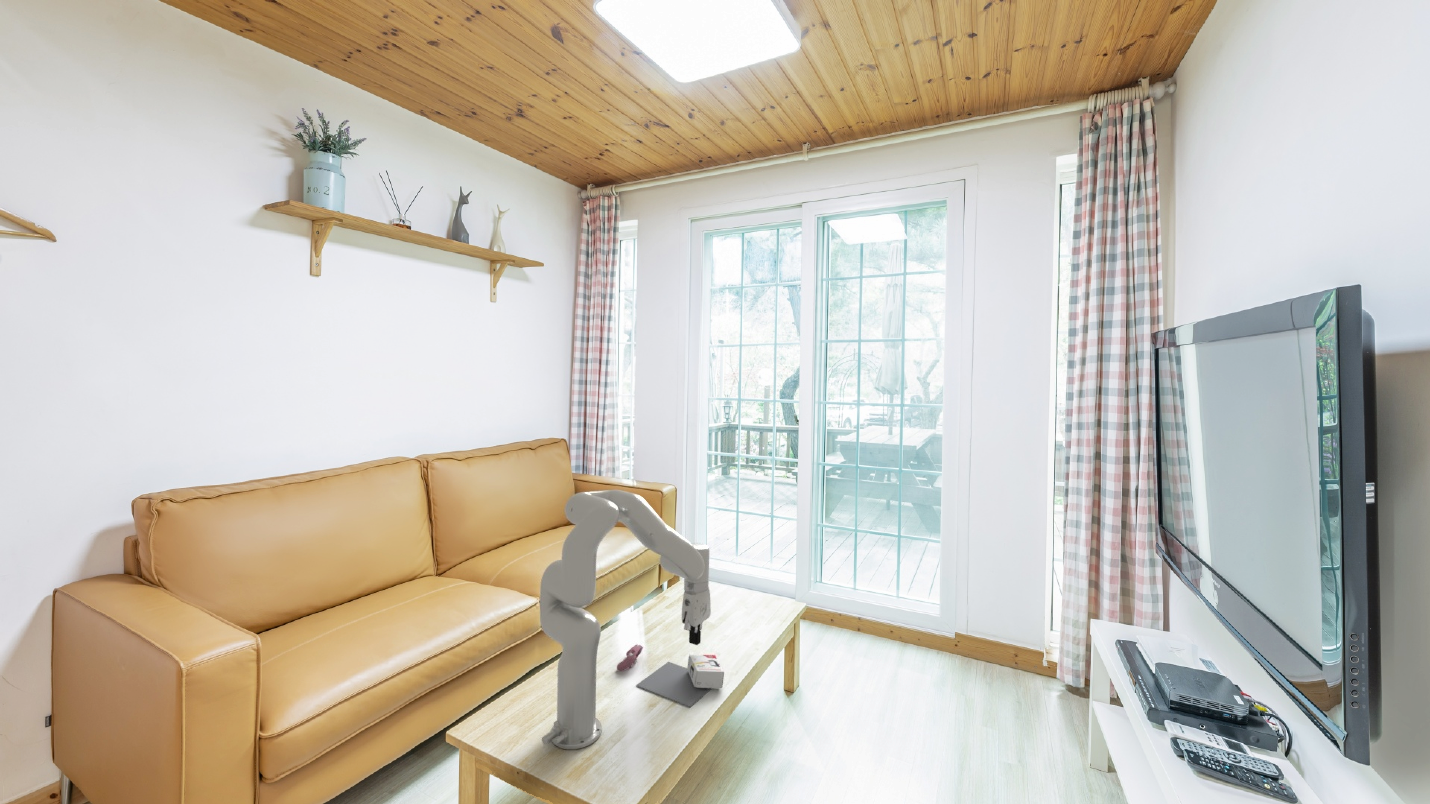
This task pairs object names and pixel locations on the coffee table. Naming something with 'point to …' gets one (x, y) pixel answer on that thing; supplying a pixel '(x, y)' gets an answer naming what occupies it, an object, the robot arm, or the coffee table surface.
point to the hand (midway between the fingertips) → (694, 643)
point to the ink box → (705, 671)
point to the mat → (673, 685)
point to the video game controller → (630, 658)
